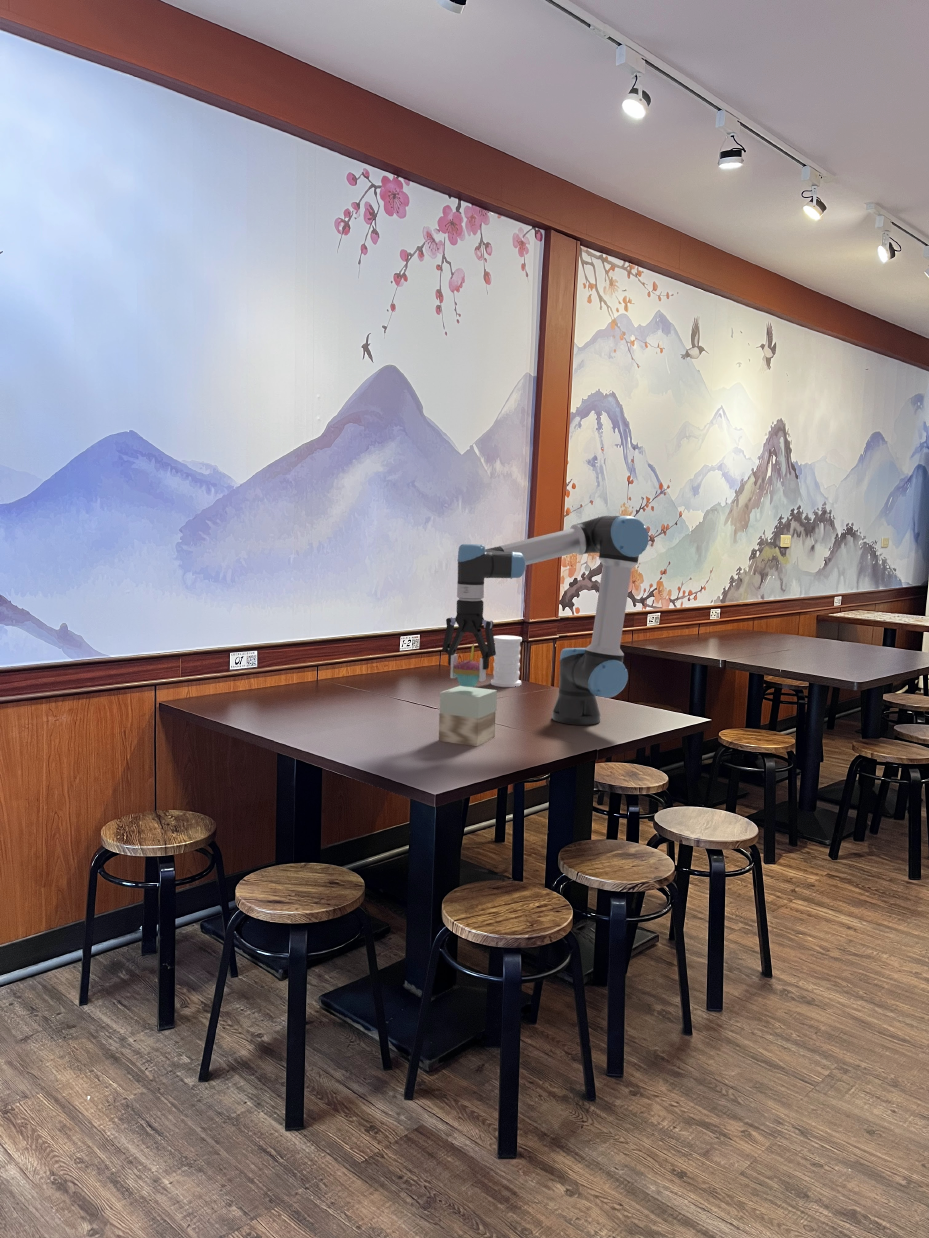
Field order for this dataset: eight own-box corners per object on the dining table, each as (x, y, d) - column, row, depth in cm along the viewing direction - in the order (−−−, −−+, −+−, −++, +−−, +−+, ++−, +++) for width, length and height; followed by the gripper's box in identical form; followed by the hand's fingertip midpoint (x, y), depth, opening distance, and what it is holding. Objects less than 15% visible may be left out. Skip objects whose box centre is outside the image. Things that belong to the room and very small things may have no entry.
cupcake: (466, 681, 266) (467, 640, 265) (489, 685, 261) (490, 643, 260) (446, 685, 260) (447, 643, 259) (470, 689, 255) (471, 646, 253)
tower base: (494, 737, 265) (495, 710, 264) (477, 746, 254) (478, 718, 253) (457, 732, 270) (458, 705, 269) (438, 741, 259) (439, 713, 259)
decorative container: (487, 681, 354) (489, 635, 352) (517, 681, 356) (518, 635, 354) (494, 687, 343) (495, 639, 341) (524, 687, 345) (526, 639, 343)
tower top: (496, 710, 264) (497, 690, 263) (478, 718, 253) (478, 697, 253) (459, 705, 269) (459, 685, 269) (439, 713, 259) (440, 692, 258)
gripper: (430, 597, 259) (428, 677, 262) (499, 602, 250) (496, 685, 253) (442, 596, 266) (440, 673, 268) (510, 600, 257) (507, 680, 259)
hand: (467, 679), depth 260 cm, fingers closed on cupcake, 8 cm apart
